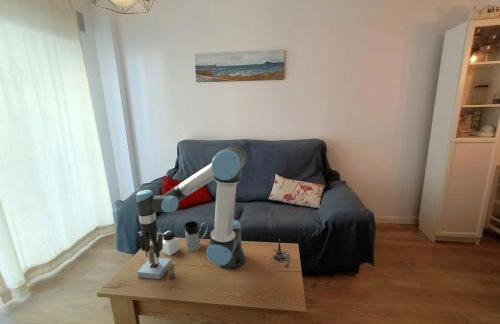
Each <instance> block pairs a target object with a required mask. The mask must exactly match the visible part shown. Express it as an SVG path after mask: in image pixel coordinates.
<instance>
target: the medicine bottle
mask: <svg viewBox="0 0 500 324" xmlns="http://www.w3.org/2000/svg"><path fill="white" fill-rule="evenodd" d="M175 235H176V234H175V232H174V231H173V230H167V231H166V232H163V236H162V237H163V239H162V240H163V249H162V250H161V252H162V253H163V254H166V255H168V256H172V255H174V254H175V253H176V252H178V251H180V242H179V239H178V238H176V237H175Z"/></svg>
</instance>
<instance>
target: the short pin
mask: <svg viewBox="0 0 500 324" xmlns="http://www.w3.org/2000/svg"><path fill="white" fill-rule="evenodd" d="M174 269H175V268H174V264H171V265H168V266H167V271H166V272H167V277H168V278H167V279H168V280H174V278H175V270H174Z"/></svg>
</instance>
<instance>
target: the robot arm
mask: <svg viewBox="0 0 500 324" xmlns="http://www.w3.org/2000/svg"><path fill="white" fill-rule="evenodd" d="M245 152H246V151H245V150H244V149H243V148H242V147H240V146H239V145H229V146H227V147H225V148H224V149H222V150H219V151H218V152H217V153H216V154H215V155H214V157H213V158H212V160H211V163H209V164H207V165H206V166H205V167H203V168H202V169H200V170H198V171H197V172H196V173H194V174H192V175H191V176H190V177H188V178H186V179H185V180H183V181H182V182H180V183H179V184H177V185H175V186H174V187H173V188H171V189H170V190H169V191H166V192H165V193H164V194H162V195H156V194H154V192H153V190H152V189H142V190H140V191H138V192H137V193H136V195H135V196H136V197H135V199H136V206H137V210H138V217H139V225H140V231H138V232H137V233H136V236H137V238H138V241H139V245H140V249H141V251H142V252H143V251H144V252H145V255H146V257H147V261H148V262H149V264H150V263H151V259H150V253H149V246H150V245H151V243H152V245H153V247H154V250H155V252H154V259H155V264H157V263H158V262H159V258H160V256H161V254H160V253H161V252H162V249H163V240H164V239H163V237H164V236H163V234H164V231H162V232H160V231H159V229H158V223H157V222H158V221H157V215H156V212H163V213H174V212H176V210H177V209H178V207H179V202H181V201H182V200H183V199H185V198H186V197H188V196H190V195H191V194H193V193H194V192H196V191H197V190H199V189H200V188H202V187H204V186H205V185H207V184H209V183H210V182H212V181H213V180H214V181H215V182H216V196H215V209H214V224H213V226H214V227H213V230H211V231H210V236H209V245H208V246H207V248H206V257H207V259H208V260H209V261H210V262H211V263H212V264H214V265H216V266H219V267H220V268H222V269H224V270H236V269H239V268H241V267H242V266H243V265H244V264H245V263H246V254H245V251H244V249H243V247H242V230H241V228H242V227H241V223H240V221H239V220H236V219H235V218H234V217H235V205H236V194H237V185H238V183H239V182H241V177H242V168H243V167H244V166H245V163H246V160H247V155H246V153H245Z"/></svg>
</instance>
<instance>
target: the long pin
mask: <svg viewBox="0 0 500 324" xmlns="http://www.w3.org/2000/svg"><path fill="white" fill-rule="evenodd" d="M154 252H155V250H154V247H153V244H150V246H149V253H150V259H151V266H152V268H157V266H158V263H157V264H155V259H154Z"/></svg>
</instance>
